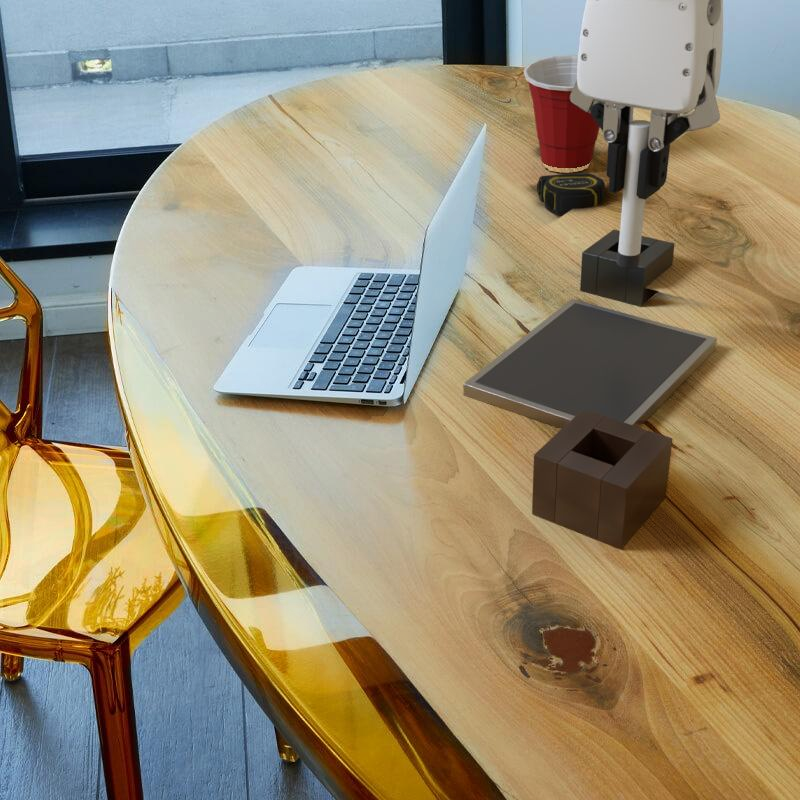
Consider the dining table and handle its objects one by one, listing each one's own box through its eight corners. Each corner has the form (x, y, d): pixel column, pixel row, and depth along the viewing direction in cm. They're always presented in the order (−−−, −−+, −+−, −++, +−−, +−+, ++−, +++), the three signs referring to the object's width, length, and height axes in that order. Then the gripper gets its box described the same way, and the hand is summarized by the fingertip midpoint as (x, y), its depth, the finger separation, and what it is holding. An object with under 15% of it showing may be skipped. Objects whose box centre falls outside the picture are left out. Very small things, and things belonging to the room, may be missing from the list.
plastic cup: (517, 181, 128) (519, 79, 122) (525, 150, 137) (527, 54, 131) (610, 183, 126) (617, 80, 120) (611, 152, 135) (618, 55, 129)
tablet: (715, 349, 92) (717, 337, 92) (619, 448, 80) (620, 435, 80) (571, 309, 100) (572, 298, 99) (463, 395, 88) (463, 382, 87)
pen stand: (666, 497, 75) (672, 438, 72) (621, 550, 71) (627, 488, 68) (579, 466, 79) (582, 408, 76) (531, 514, 74) (533, 454, 71)
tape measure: (595, 198, 123) (597, 167, 121) (610, 221, 117) (612, 188, 115) (536, 202, 122) (536, 171, 120) (547, 225, 116) (549, 192, 114)
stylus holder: (670, 281, 104) (674, 243, 102) (641, 307, 100) (644, 267, 97) (610, 266, 107) (613, 229, 105) (579, 290, 103) (581, 252, 101)
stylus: (642, 262, 90) (656, 122, 84) (633, 270, 89) (646, 128, 83) (623, 257, 91) (635, 118, 85) (613, 265, 90) (624, 124, 84)
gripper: (784, -54, 75) (747, 195, 85) (583, -70, 84) (570, 159, 93) (743, -36, 70) (709, 227, 80) (534, -55, 79) (526, 186, 88)
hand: (634, 189), depth 87 cm, fingers closed on stylus, 1 cm apart
